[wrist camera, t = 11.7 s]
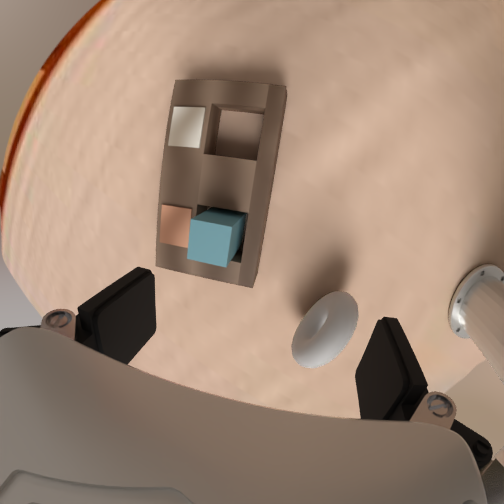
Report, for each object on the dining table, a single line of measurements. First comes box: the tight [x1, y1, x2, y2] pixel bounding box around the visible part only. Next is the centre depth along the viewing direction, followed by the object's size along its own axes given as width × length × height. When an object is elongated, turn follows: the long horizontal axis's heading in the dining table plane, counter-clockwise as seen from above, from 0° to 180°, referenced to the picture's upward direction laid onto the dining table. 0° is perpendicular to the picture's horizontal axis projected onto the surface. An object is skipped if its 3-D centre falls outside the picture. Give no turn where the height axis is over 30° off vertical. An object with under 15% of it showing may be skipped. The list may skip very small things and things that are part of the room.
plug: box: [187, 207, 247, 267], centre depth 29 cm, size 4×4×8 cm
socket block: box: [156, 80, 287, 288], centre depth 29 cm, size 12×22×4 cm, turn 171°
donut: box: [291, 291, 358, 368], centre depth 30 cm, size 10×3×10 cm, turn 145°
